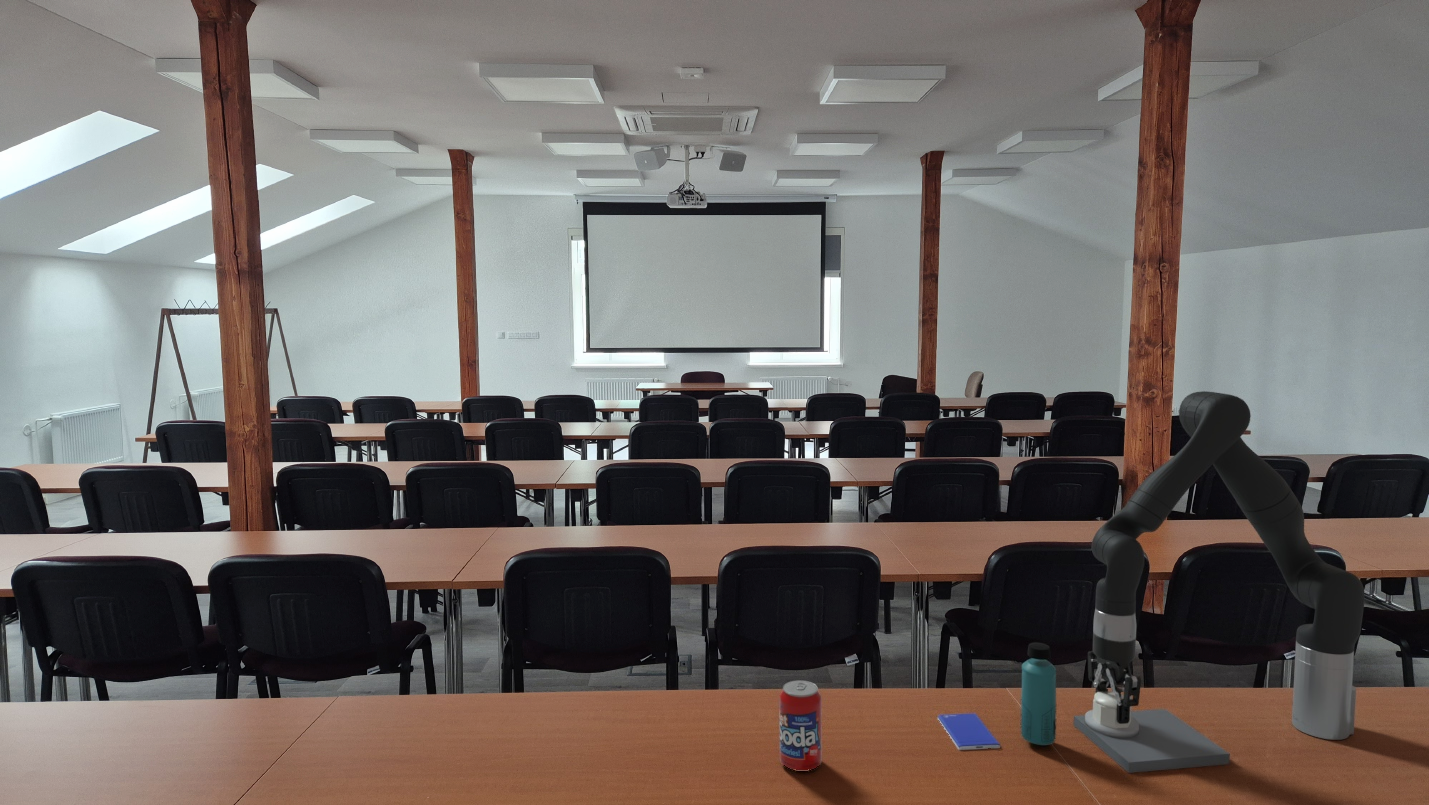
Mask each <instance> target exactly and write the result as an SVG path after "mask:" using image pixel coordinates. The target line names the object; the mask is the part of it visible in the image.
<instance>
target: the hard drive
mask: <svg viewBox="0 0 1429 805" xmlns="http://www.w3.org/2000/svg"><path fill="white" fill-rule="evenodd" d="M938 720H939V721H940V722H939V721H938ZM937 721H938V722H939V723H941V724H942V725H941V724H940V725H941V727H942V726H943V727H944V728H943V727H942V728H943V729H944V731H945V730H946V731H945V732H946V733H948V734H949V735H948V734H947V735H948V737H949V736H950V737H949V738H950V740H951V739H952V740H951V741H952V743H953V744H954V745H955V747H956V749H957V750H958V751H967V750H969V751H970V750H986V749H987V750H988V748H991V749H1000V748H1001V744H1000V742H999V741H998V740H997V739H996V737H995V736H994V735H993V734H992V733H991V731H990V730H989V729H988V727H987V726H986V725H985V724H984V722H983V721H982V720H981V719H980V717H979V716H978V714H977V713H975V712H972V713H971V712H970V713H950V714H948V713H947V714H939V715H937Z"/></svg>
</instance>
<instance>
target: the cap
mask: <svg viewBox="0 0 1429 805" xmlns="http://www.w3.org/2000/svg"><path fill="white" fill-rule="evenodd" d="M1121 696H1122V699H1123V696H1124V693H1123V694H1122V693H1121ZM1117 704H1118V703H1117V699H1116V695H1115V693H1113V692H1112V690H1111V691H1110V690H1108V691H1100V692H1097V693H1096V692H1095V694H1094V696H1093V700H1092V710H1093V719H1094V720H1095V721H1097V722H1098V723H1099V724H1100V725H1104V726H1108V727H1111V728H1127V727H1128V726H1129V725H1130V723H1131V711H1132V706H1130V720H1129V722H1128V723H1125V724H1119V723H1118V722H1117Z"/></svg>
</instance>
